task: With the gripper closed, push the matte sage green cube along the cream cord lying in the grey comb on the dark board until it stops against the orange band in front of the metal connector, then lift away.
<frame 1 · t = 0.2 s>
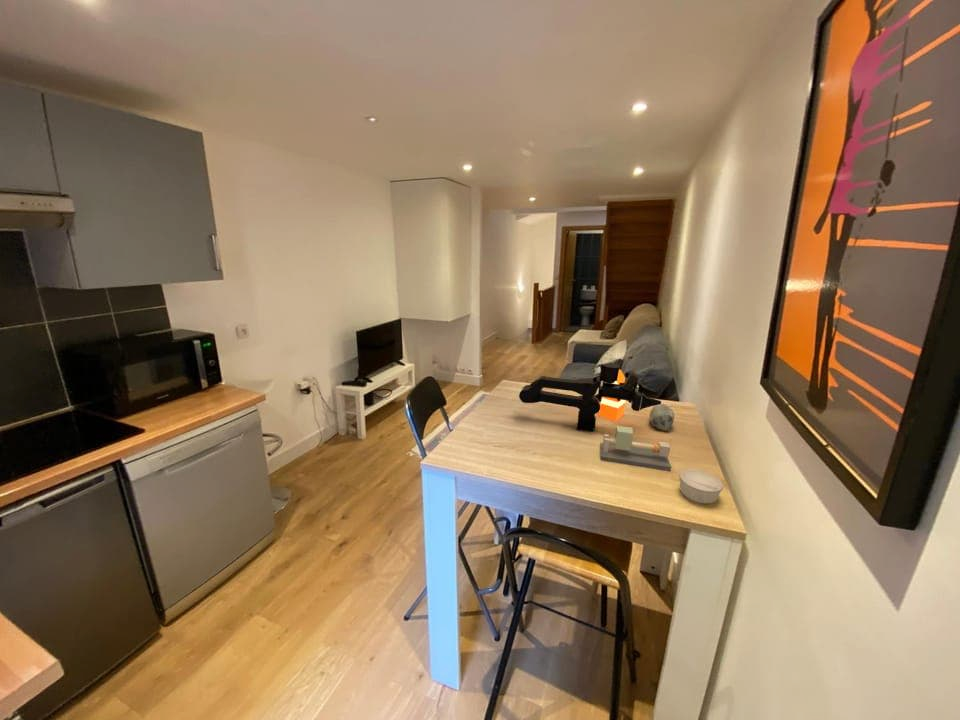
hand: (659, 397, 141), 17 cm above the table, fingers open, 9 cm apart
grey rounded oval lump: (660, 425, 157), on the table
matte sage green cube: (623, 438, 130), point 7 cm above the table, slide at 0.0 cm
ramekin: (697, 495, 112), on the table
cord board: (633, 457, 131), on the table
orange juice: (611, 415, 165), on the table
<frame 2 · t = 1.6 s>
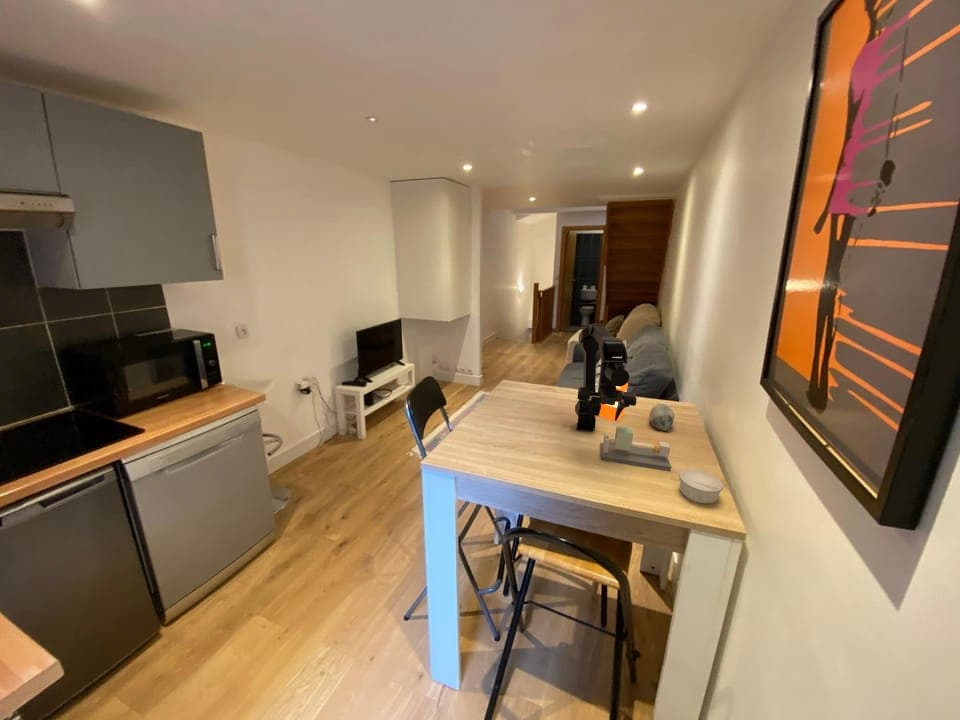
hand: (603, 419, 130), 13 cm above the table, fingers open, 8 cm apart
nothing on the table moved.
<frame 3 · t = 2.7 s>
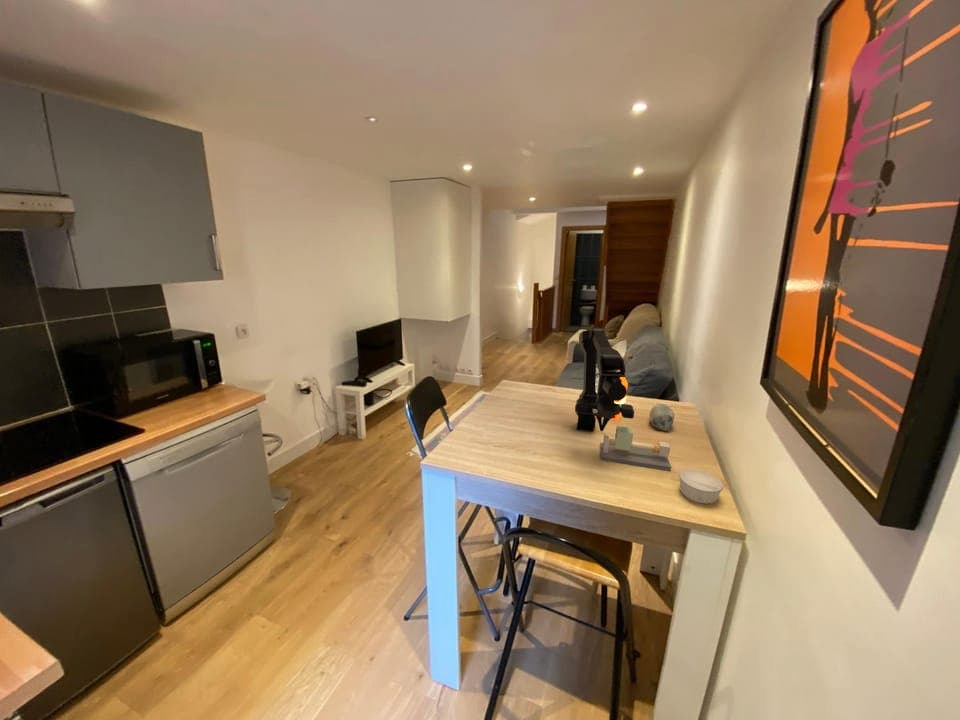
hand: (601, 430, 132), 9 cm above the table, fingers closed
nothing on the table moved.
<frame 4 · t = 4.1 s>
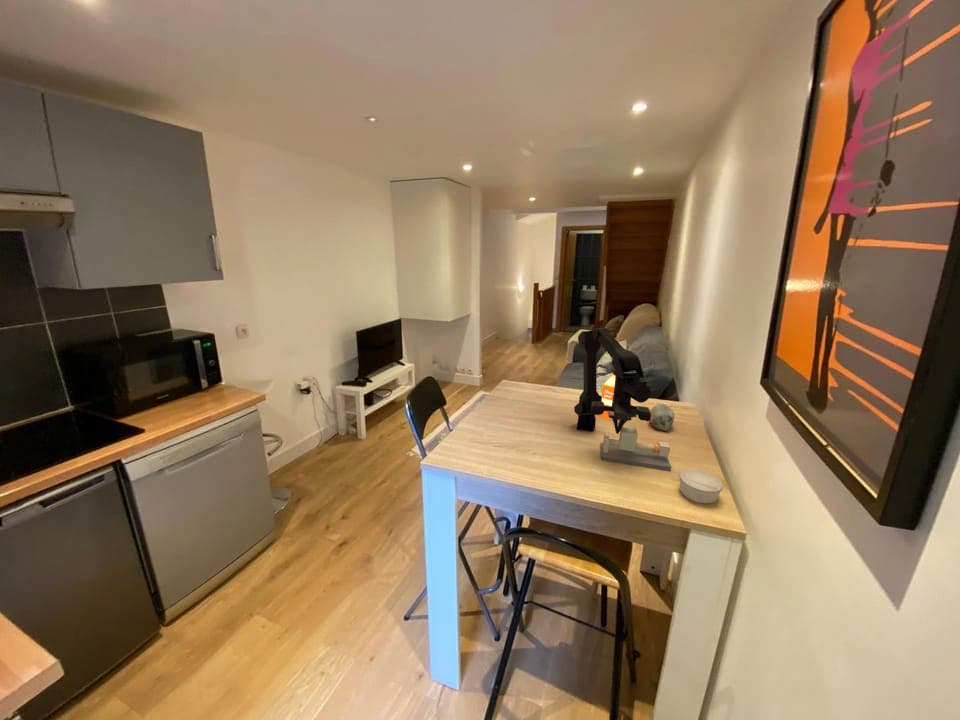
hand: (617, 433, 130), 9 cm above the table, fingers closed
matte sage green cube: (627, 438, 130), point 7 cm above the table, slide at 1.4 cm, touching gripper
everything else where it was.
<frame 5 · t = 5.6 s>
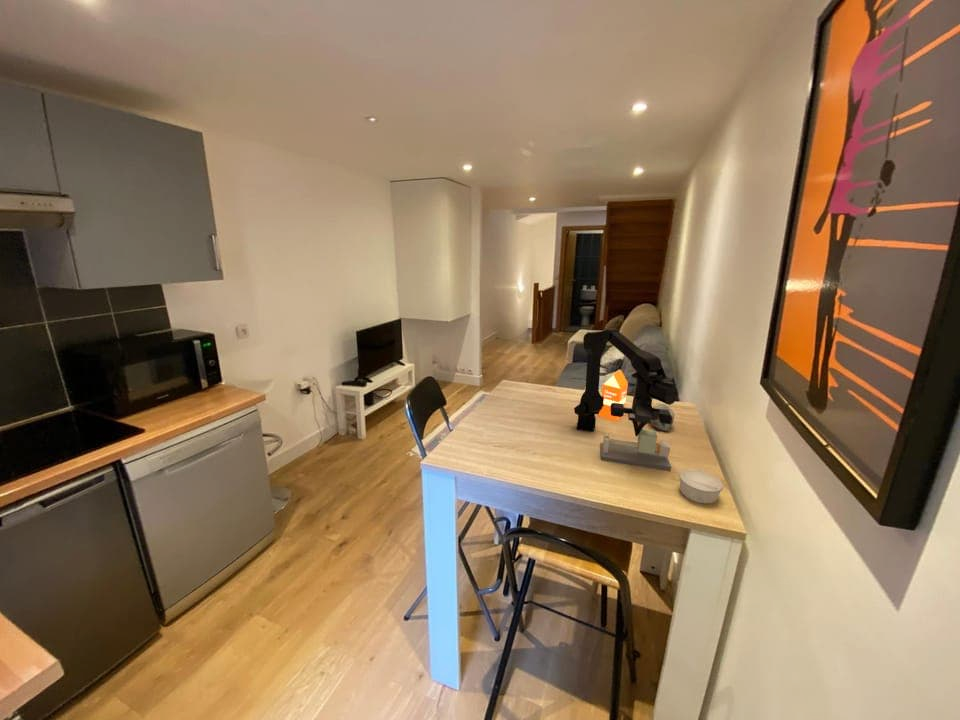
hand: (636, 435, 129), 9 cm above the table, fingers closed
matte sage green cube: (646, 441, 128), point 7 cm above the table, slide at 7.5 cm, touching cord board, gripper
everything else where it was.
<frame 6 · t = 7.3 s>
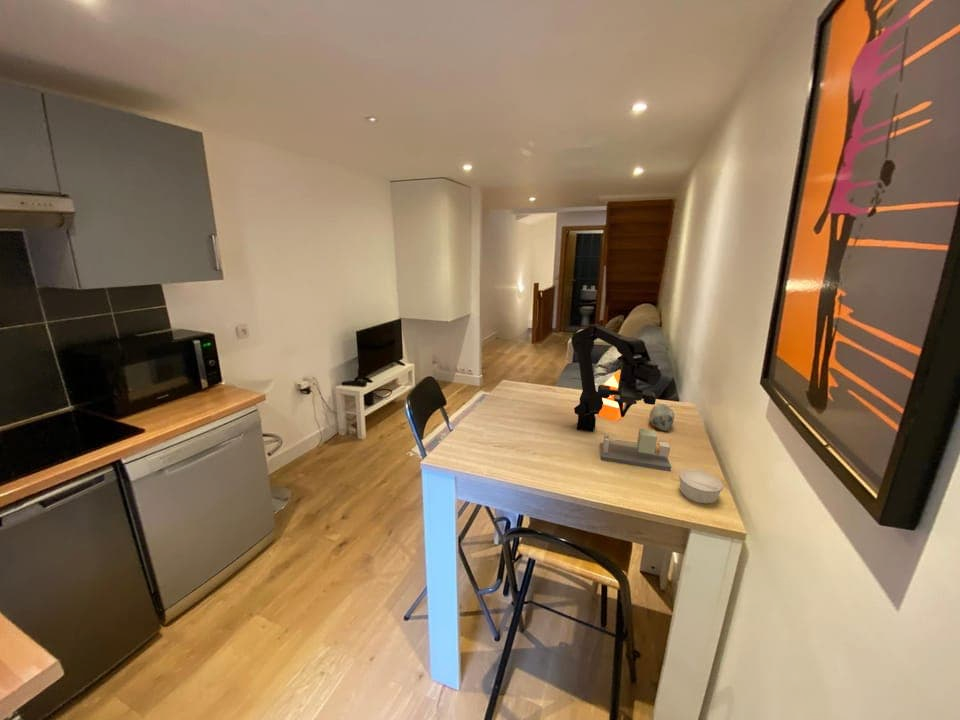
hand: (622, 416, 134), 13 cm above the table, fingers closed
matte sage green cube: (646, 441, 128), point 7 cm above the table, slide at 7.4 cm
everything else where it was.
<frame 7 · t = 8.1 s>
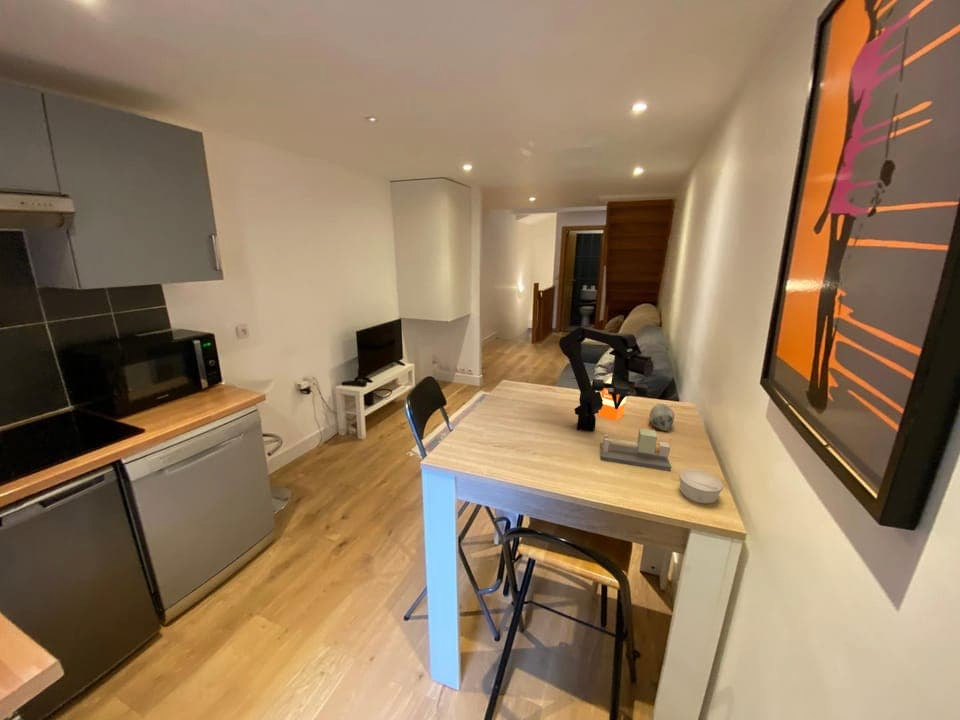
hand: (616, 408, 139), 13 cm above the table, fingers closed
nothing on the table moved.
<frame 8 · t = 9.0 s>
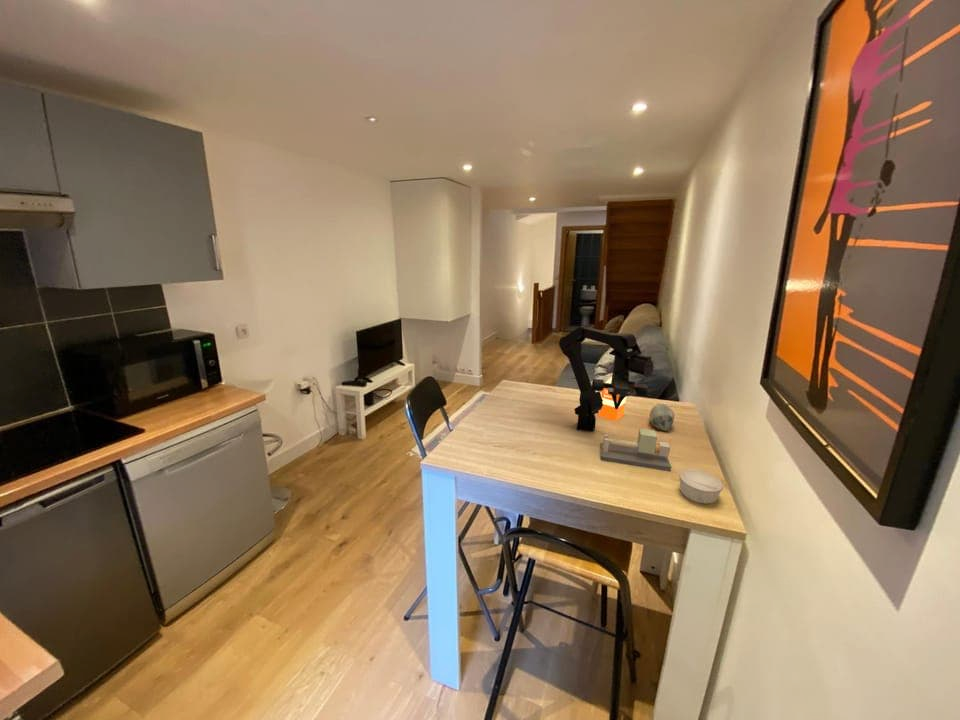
hand: (616, 408, 139), 13 cm above the table, fingers closed
nothing on the table moved.
at the end: matte sage green cube slide at 7.4 cm; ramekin moved 0.3 cm from its start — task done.
